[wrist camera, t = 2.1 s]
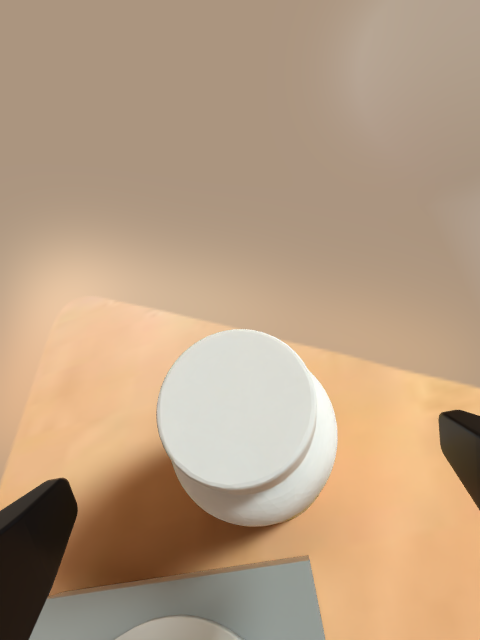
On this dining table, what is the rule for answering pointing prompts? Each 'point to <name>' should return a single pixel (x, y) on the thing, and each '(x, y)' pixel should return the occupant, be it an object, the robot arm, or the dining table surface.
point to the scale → (192, 607)
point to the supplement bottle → (247, 428)
